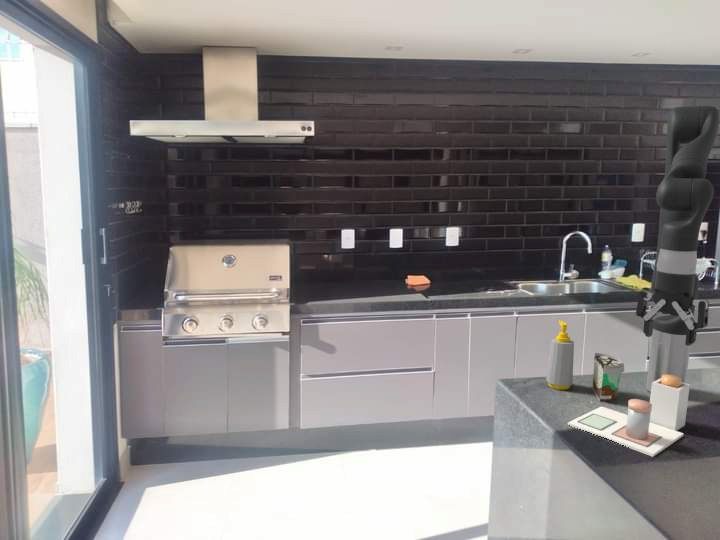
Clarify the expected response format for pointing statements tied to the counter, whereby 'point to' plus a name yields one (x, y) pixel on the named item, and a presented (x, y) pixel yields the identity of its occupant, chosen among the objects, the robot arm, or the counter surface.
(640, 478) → the counter surface
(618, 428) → the picture board
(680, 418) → the white open box
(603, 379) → the food container
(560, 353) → the soap bottle
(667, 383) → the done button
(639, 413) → the peach-capped grey cylinder
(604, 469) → the counter surface
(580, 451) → the counter surface
